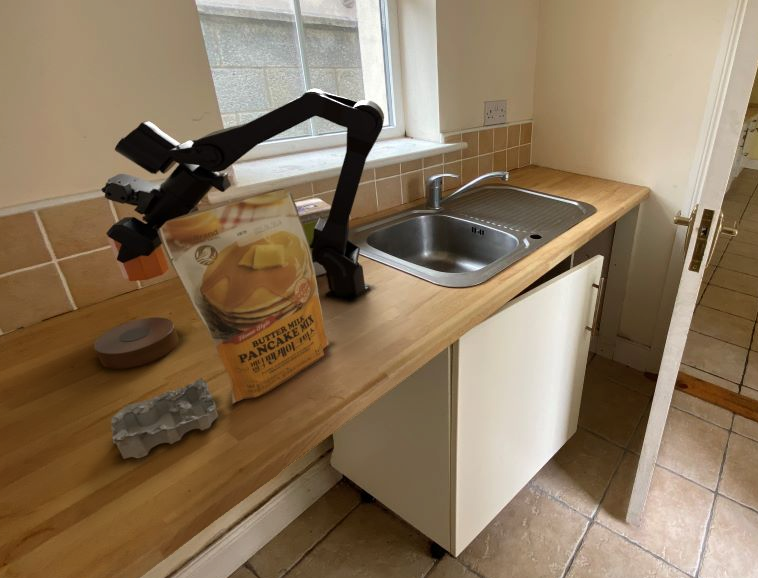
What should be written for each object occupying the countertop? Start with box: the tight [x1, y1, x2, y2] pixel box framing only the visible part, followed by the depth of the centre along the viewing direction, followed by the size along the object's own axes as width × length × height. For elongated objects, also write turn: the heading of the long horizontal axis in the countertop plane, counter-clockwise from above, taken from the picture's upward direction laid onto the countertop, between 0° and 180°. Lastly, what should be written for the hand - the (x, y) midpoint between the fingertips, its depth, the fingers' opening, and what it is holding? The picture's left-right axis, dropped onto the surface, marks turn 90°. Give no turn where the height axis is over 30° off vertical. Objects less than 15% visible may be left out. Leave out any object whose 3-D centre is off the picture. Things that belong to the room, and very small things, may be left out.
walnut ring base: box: [93, 316, 180, 370], centre depth 73 cm, size 10×10×3 cm
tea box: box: [295, 197, 332, 277], centre depth 98 cm, size 15×10×15 cm
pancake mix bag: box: [157, 187, 330, 404], centre depth 65 cm, size 7×19×28 cm, turn 152°
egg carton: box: [110, 377, 219, 460], centre depth 59 cm, size 11×8×4 cm
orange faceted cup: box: [106, 235, 170, 282], centre depth 80 cm, size 6×6×8 cm
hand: (130, 253), depth 79 cm, fingers closed on orange faceted cup, 6 cm apart
